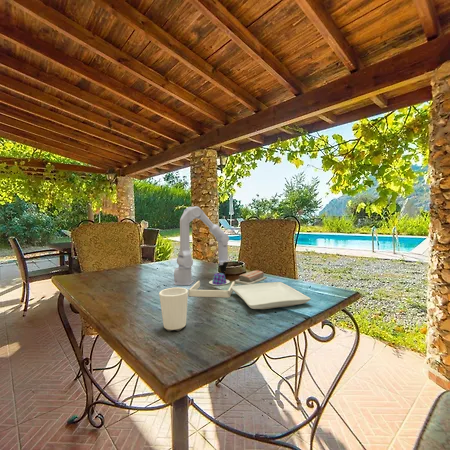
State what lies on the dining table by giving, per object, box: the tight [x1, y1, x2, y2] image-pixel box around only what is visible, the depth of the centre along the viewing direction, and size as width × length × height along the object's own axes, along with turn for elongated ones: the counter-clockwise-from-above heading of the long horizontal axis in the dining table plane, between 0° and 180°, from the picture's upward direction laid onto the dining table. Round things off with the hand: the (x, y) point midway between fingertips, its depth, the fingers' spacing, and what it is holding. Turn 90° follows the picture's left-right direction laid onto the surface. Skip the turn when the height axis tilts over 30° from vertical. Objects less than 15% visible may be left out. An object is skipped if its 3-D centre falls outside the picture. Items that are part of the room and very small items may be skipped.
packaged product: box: [234, 269, 267, 285], centre depth 149 cm, size 18×5×10 cm
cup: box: [158, 286, 189, 333], centre depth 90 cm, size 10×10×13 cm
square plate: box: [231, 281, 312, 310], centre depth 116 cm, size 27×27×4 cm
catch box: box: [187, 280, 236, 299], centre depth 130 cm, size 20×17×3 cm
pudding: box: [208, 272, 231, 286], centre depth 146 cm, size 12×12×5 cm
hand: (223, 274), depth 160 cm, fingers closed
